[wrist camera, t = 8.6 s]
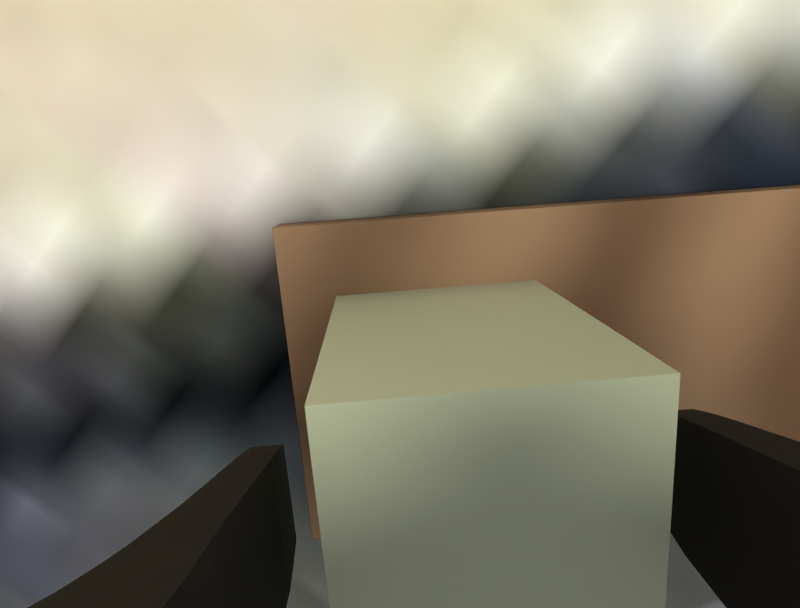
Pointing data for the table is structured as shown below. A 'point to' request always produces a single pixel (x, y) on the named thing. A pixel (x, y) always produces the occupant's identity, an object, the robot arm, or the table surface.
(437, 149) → the table surface
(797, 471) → the robot arm
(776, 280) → the board
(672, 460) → the pale green block
